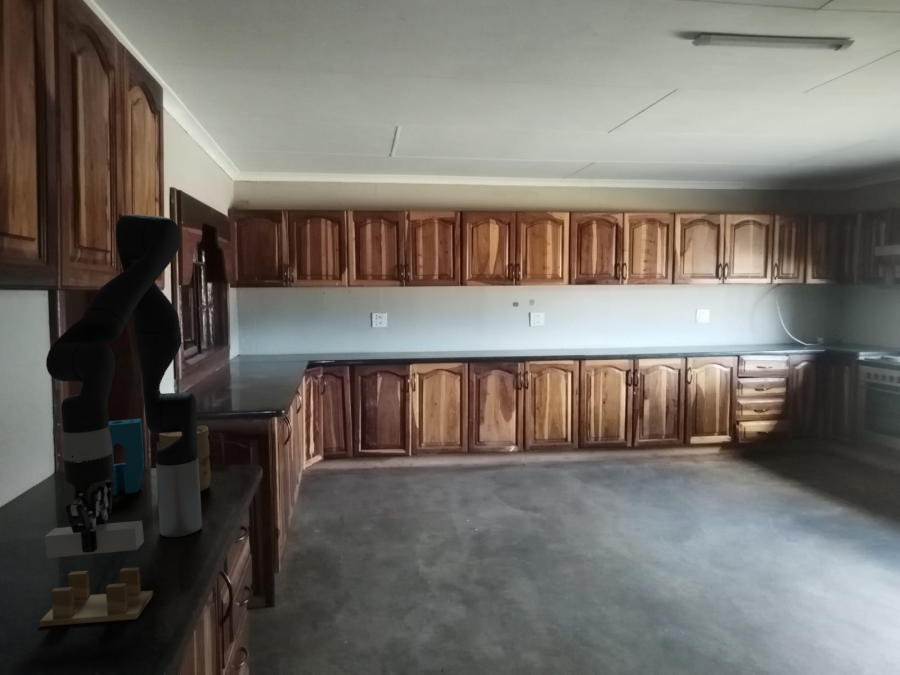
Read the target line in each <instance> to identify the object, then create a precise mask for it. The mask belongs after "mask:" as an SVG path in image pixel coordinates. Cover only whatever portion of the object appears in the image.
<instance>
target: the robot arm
mask: <svg viewBox="0 0 900 675" xmlns="http://www.w3.org/2000/svg"><path fill="white" fill-rule="evenodd" d="M115 241H116V242H115V243H116V248H117V253H118V256H119V261H120V265H121V268H122V271H123V272H121V273H119V274H118V275H115V276H114V277H113V278H112V279H110V280H109V281H108V282H106V283H105V284H104V285H103V286H101V287H100V288H99V289H98V290H97V291H96V293H95V294H94V296H93V297H92V298H91V300H90V302H89V303H88V305H87V307H86V309H85V310H84V312H83V314H82V316H81V317H80V318H79V319H78V320H77V321H75V322H74V323H73V324H72V325H70V327H69V328H68V329H67V330H66V331H64V333H63V334H61V336H60V337H59V338H57V339H56V341H55V342H54V343H53V344H52V346H51V347H50V349H49V350H48V353H47V355H46V362H45V363H46V364H45V365H46V370H47V373H48V374H49V375H50V377H52V378H53V379H54V380H57V381H58V382H59V381H60V382H81V383H82V386H81V390H80V392H79V393H78V394H74V395H70V396H67V397H65V398H64V399H63V401H62V402H61V405H60V406H61V407H60V408H61V409H60V410H61V423H62V426H61V427H62V444H61V445H62V446H61V447H62V460H63V461H62V462H63V471H64V482H65V483H66V484H68V485H72V486H73V487H74V493H73V497H74V498H73V503H72V504H67V505H66V506H65V513H66V515H67V519H68V522H69V525H70V527H71V528H72V531H73V533H81V541H82V551H83V552H94V551H95V550H96V549H97V540H96V530H95V529H96V525H99V524H107V520H108V518H109V515H108V514H111V513H112V508H113V507H112V506H113V498H114V495H113V486H114V482H113V481H106V480H107V479H109V478H110V477H112V476H113V474H114V469H113V457H114V454H113V455H112V440H111V434H110V430H109V420H110V419H109V410H108V402H109V398H110V394H111V389H112V384H113V381H114V376H115V371H116V358H115V354H114V352H113V349H112V348H111V347H110V346H109V345H108V343H112V342H115V341H116V340H118V339H119V338H120V336H121V334H122V333H123V331H124V329H125V327H126V325H128V322H129V320H130V318H131V317H132V326H133V333H134V339H135V344H136V350H137V354H138V355H137V356H138V360H139V361H138V362H139V366H140V372H141V379H142V380H141V381H142V394H143V407H144V416H145V423H146V426H147V429H148V430H149V432H150V433H153V434H159V433H170V432H182V436H181V437H180V438H179V439H178V440H176V441H174V442H172V443H170V444H167V445H165V446H162V447H161V448H160V447H159V448H157V449H156V451H155V454H154V457H155V458H154V459H155V460H154V461H155V468H156V469H155V472H156V484H157V485H156V486H157V487H156V488H157V502H158V504H157V505H158V517H159V518H158V519H159V520H158V522H159V532H160V535H161V536H163V537H168V538H178V537H179V538H180V537H184V536H189V535H191V534H194V533H196V532H198V531H199V530H201V529H202V527H203V521H202V520H203V519H202V505H201V504H202V502H201V501H202V500H201V491H200V481H199V465H198V447H197V427H198V420H197V419H198V408H197V407H198V406H197V400H196V397H195V395H194V394H193V393H192V392H189V391H188V392H187V391H186V392H185V391H184V392H169V393H167V392H166V393H161V388H160V387H161V383H162V380H163V378H164V376H165V374H166V372H167V370H168V369H169V367H170V366H171V364H172V362H173V361H174V359H176V358H175V357H177V354H178V352H179V350H180V349H181V345H182V332H181V325H180V324H181V323H180V317H179V313H178V311H177V310H176V308H175V306H174V305H173V303H172V302H171V301H170V300H169V298H168V297H167V295H166V294H165V293H164V292H163V291H162V289H160V287H159V286H158V285H157V282H156V281H157V280H158V278H160V277H161V275H162V273H163V272H164V271H165V270H166V268H168V266H169V265H170V264H171V262H172V261H173V259H174V258H175V256H176V255H177V253H178V250H179V249H180V248H179V247H180V244H181V232H180V229H179V226H178V224H177V223H176V222H175V221H174V220H173V219H171V218H169V217H165V216H160V215H159V216H158V215H146V214H133V213H132V214H130V213H129V214H123V215H121V216H120V218H119V219H118V221H117V223H116V226H115Z"/></svg>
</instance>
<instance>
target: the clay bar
mask: <svg viewBox="0 0 900 675" xmlns="http://www.w3.org/2000/svg"><path fill="white" fill-rule="evenodd" d="M143 526H144V525H143V520H136V521H125V522H123V521H121V522H112V523H106V524H99V525H96V529H95V530H96V540H97V549H96V550H95V551H94V552H83V551H82V541H81V533H73V531H72V528H71V526H65V527H56V528H55V527H54V528H53V529H52V530H50V532H48V533H47V534H46V535H44V543H45V551H46V558H47V559H51V558H64V557H74V556H75V557H76V556H83V555H85V556H86V555H95V554H106V553H108V554H109V553H116V552H125V551H126V552H128V551H137V550H138V549H139V548H140V547H141V546H142V545H143V544H144V542H145V537H144V528H143Z"/></svg>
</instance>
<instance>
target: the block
mask: <svg viewBox="0 0 900 675" xmlns="http://www.w3.org/2000/svg"><path fill="white" fill-rule="evenodd" d="M109 430H110V434H111V440H112V455H113V469H114V474H113V476H112V477H110V478H109V479H107V480H106V481H113V482H114V486H113V496H117V495H118V493H119V492H123V491H124V494H127V495H128V494H134V493H138V492H139V489H140V485H141V481H142V477H143V473H144V468H145V458H144V457H145V456H144V442H143V441H144V440H143V439H144V438H143V425H142V418H133V419H121V420H110V421H109ZM116 444H119V445H120V446H122V447H123V448H124V450H125V451H124V453H125V462H121V463H115V462H114V460H115V459H114V447H115V445H116Z"/></svg>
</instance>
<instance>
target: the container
mask: <svg viewBox="0 0 900 675" xmlns="http://www.w3.org/2000/svg"><path fill="white" fill-rule="evenodd" d="M209 431H210V430H209V427H208V426H206V425H197V447H198V465H199V481H200V492H202V491H205V490H207V489H208V488H209V486H210V484H211V479H212V473H211V462H210V459H209V456H210V453H211V452H210V441H209ZM158 436H159V437H158V438H159V442H160V443H159V448H161V447H162V446H165V445H167V444H170V443H172V442H174V441H176V440H178V439H179V438H180V437H181V436H182V432H170V433H158Z"/></svg>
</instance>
